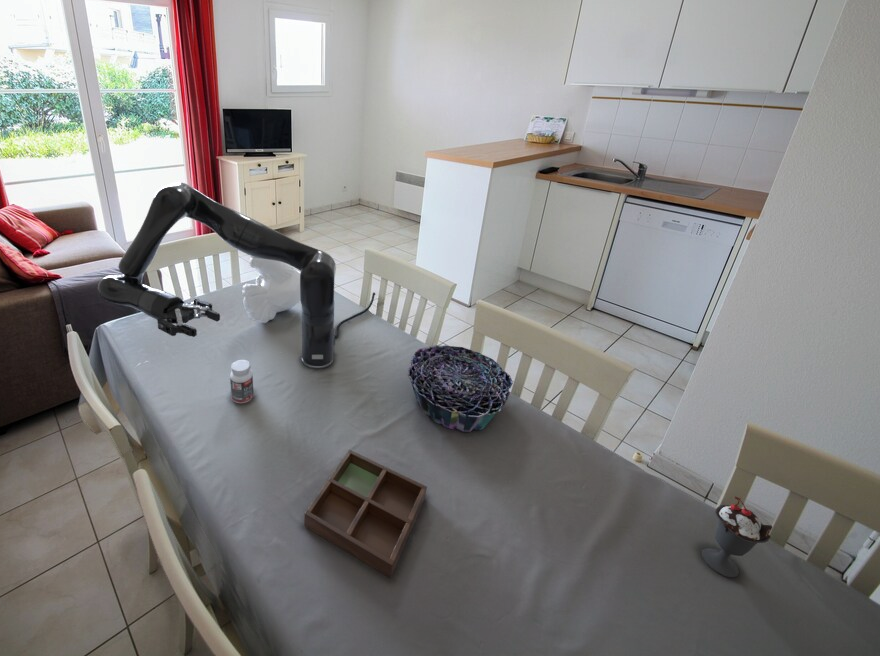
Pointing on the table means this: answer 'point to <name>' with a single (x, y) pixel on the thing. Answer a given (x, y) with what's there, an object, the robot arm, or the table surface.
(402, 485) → the grid
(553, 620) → the table surface
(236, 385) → the pill bottle
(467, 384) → the decorative bowl
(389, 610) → the table surface
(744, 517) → the sundae
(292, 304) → the decorative rooster
